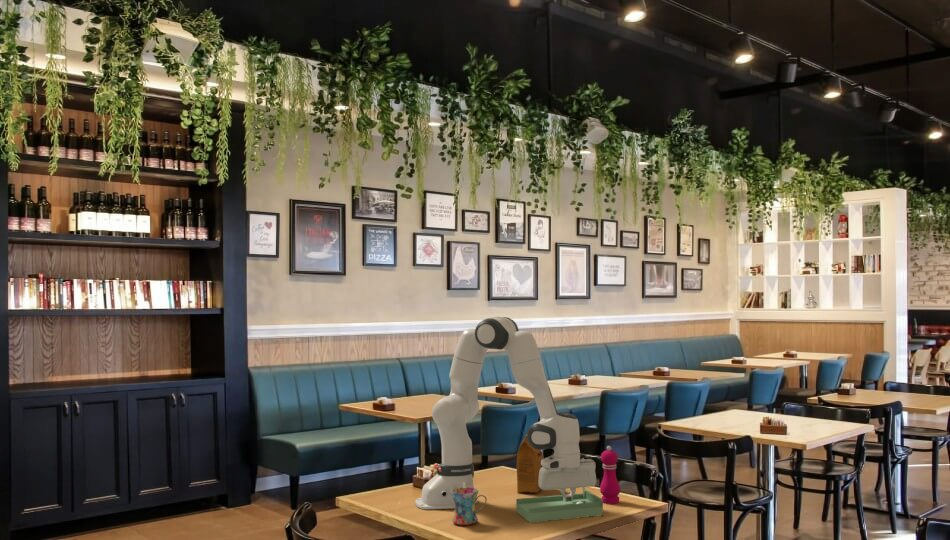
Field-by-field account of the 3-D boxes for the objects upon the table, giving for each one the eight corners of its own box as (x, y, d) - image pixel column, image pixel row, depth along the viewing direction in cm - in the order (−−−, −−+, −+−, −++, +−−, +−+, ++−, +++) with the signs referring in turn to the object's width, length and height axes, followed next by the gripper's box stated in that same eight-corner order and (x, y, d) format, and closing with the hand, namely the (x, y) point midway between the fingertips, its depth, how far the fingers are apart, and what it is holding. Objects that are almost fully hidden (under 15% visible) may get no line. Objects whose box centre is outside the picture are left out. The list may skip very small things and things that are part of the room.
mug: (448, 526, 265) (447, 493, 266) (454, 518, 274) (453, 487, 275) (484, 527, 263) (484, 494, 263) (489, 519, 272) (488, 487, 273)
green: (529, 522, 268) (528, 470, 268) (516, 512, 281) (515, 462, 282) (602, 515, 274) (601, 464, 275) (586, 505, 288) (585, 457, 289)
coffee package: (549, 488, 316) (548, 431, 316) (537, 495, 304) (536, 436, 305) (525, 486, 320) (524, 429, 321) (513, 493, 309) (512, 434, 309)
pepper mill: (607, 505, 288) (606, 448, 288) (596, 501, 294) (595, 445, 295) (624, 503, 291) (623, 446, 291) (613, 498, 297) (611, 443, 298)
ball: (582, 500, 278) (589, 508, 278) (578, 498, 281) (585, 505, 282) (575, 508, 277) (581, 515, 278) (571, 505, 281) (578, 513, 281)
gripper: (591, 456, 285) (592, 496, 285) (536, 460, 280) (537, 501, 279) (598, 460, 279) (599, 500, 279) (542, 464, 274) (543, 505, 273)
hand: (568, 501), depth 279 cm, fingers closed
